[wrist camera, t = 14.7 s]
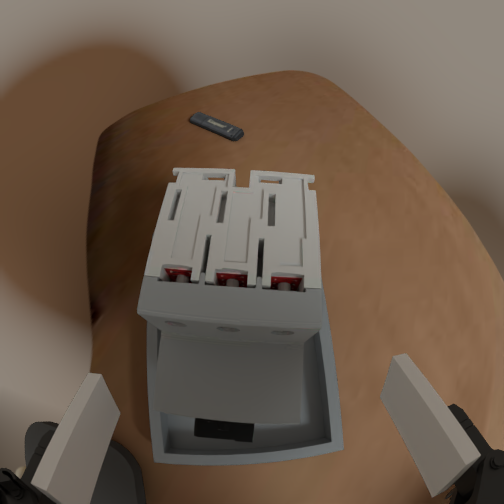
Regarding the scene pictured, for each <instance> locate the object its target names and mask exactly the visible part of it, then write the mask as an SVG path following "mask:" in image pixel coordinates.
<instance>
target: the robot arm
mask: <svg viewBox="0 0 504 504" xmlns="http://www.w3.org/2000/svg"><path fill="white" fill-rule="evenodd" d="M380 398H381V400H382V402H383V404H384V405H385V407H386V409H387V411H388V413H389V414H390V416H391V418H392V420H393V422H394V424H395V426H396V427H397V429H398V431H399V433H400V435H401V437H402V439H403V441H404V442H405V444H406V446H407V448H408V450H409V452H410V454H411V456H412V458H413V460H414V462H415V464H416V466H417V468H418V470H419V472H420V474H421V476H422V478H423V480H424V482H425V484H426V486H427V488H428V490H429V492H430V494H431V496H432V497H434V496H436V495H438V494H440V493H442V492H444V491H446V490H447V489H448V488H449V487H450V486H452V485H453V484H455V486H456V487H455V488H454V489H452V490H451V491H450V492H449V493H448V494H447V495H446V497H445V499H447V498H449V497H450V496H451V495H452V497H451V498H450V503H449V504H504V451H502V450H499V449H498V450H493V449H492V448H491V447H490V446H489V445H488V443H487V442H486V440H485V439H484V438H483V436H482V435H481V433H480V432H479V431H478V429H477V428H476V427H475V425H473V422H472V421H471V420H470V419H469V417H468V416H467V414H466V413H465V412H464V410H463V409H461V408H460V407H458V406H457V405H455V404H452V405H450V406H448V407H447V406H446V404H445V403H444V402H443V400H442V399H441V397H440V396H439V395H438V393H437V392H436V391H435V389H434V388H433V387H432V386H431V384H430V383H429V382H428V380H427V379H426V378H425V376H424V375H423V374H422V373H421V371H420V370H419V369H418V367H417V366H416V365H415V364H414V362H413V361H412V360H411V359H410V357H409V356H408V355H407V354H406V353H405V354H401V355H397V356H393V357H392V361H391V364H390V367H389V371H388V374H387V377H386V380H385V383H384V386H383V389H382V392H381V395H380ZM119 416H120V411H119V409H118V407H117V405H116V403H115V401H114V399H113V397H112V395H111V393H110V391H109V389H108V387H107V385H106V383H105V381H104V378H103V376H102V374H95V373H88V375H87V376H86V378H85V379H84V381H83V383H82V384H81V386H80V388H79V390H78V391H77V393H76V395H75V396H74V398H73V400H72V402H71V403H70V405H69V407H68V409H67V411H66V413H65V414H64V416H63V418H62V420H61V422H60V424H59V425H58V427H57V429H56V431H53V430H49V431H48V432H46V433H45V434H44V435H43V436H42V438H41V440H40V441H39V443H38V447H36V449H35V451H34V454H33V455H32V457H31V459H30V461H29V463H28V465H27V467H26V469H25V472H24V474H23V476H22V477H21V479H19V478H18V477H17V476H16V475H15V474H14V473H13V472H12V471H11V470H9V469H7V468H1V469H0V504H90V501H91V498H92V494H93V491H94V488H95V485H96V482H97V478H98V475H99V472H100V469H101V466H102V463H103V460H104V457H105V455H106V452H107V449H108V446H109V443H110V440H111V438H112V435H113V432H114V429H115V427H116V424H117V421H118V419H119Z"/></svg>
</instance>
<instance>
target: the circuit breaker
mask: <svg viewBox="0 0 504 504" xmlns="http://www.w3.org/2000/svg"><path fill="white" fill-rule="evenodd" d="M173 174H174V176H178V177H177V181H176V183H169V184H168V187H167V190H166V194H165V197H164V200H163V204H162V207H161V211H160V214H159V218H158V221H157V225H156V228H155V232H154V236H153V240H152V244H151V248H150V252H149V256H148V260H147V264H146V269H145V273H144V278H143V282H142V287H141V292H140V297H139V302H138V307H137V314H139V315H140V316H141V317H143V318H144V319H146V320H147V321H148V322H150V323H151V324H152V325H154V326H155V327H157V328H158V329H159V330H161V339H160V346H159V354H158V362H157V371H156V380H155V391H154V402H153V410H156V411H161V412H164V413H167V414H172V415H178V416H184V417H190V418H195V423H194V436H196V437H202V438H214V439H226V440H235V441H237V442H253V435H254V425H255V424H300V415H301V399H302V379H303V352H304V342H305V341H307V340H308V339H309V338H310V337H312V336H313V335H314V334H315V333H317V332H318V331H319V330H320V329H321V328H322V292H321V262H320V242H319V226H318V212H317V200H316V191H313V190H308V183H313V182H314V179H315V178H314V175H306V174H295V173H284V172H271V171H256V170H251V174H250V184H249V188H241V187H236V178H235V169H212V168H174V169H173ZM208 177H218V178H224V180H225V181H219V180H208ZM261 180H272V181H279V184H272V183H260V182H261Z"/></svg>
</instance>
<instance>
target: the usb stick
mask: <svg viewBox="0 0 504 504" xmlns="http://www.w3.org/2000/svg"><path fill="white" fill-rule="evenodd" d="M190 122H191V123H192V124H195V125H197V126H200V127H202V128H204V129H206V130H209V131H211V132H213V133H216V134H218V135H220V136H223V137H225V138H227V139H229V140H232V141H238V140H239V139H240V138H241V137H243V135H244V132H243V130H242V129H240V128H238V127H236V126H233V125H231V124H229V123H226V122H224V121H221V120H218V119H216V118H213V117H211V116H208V115H205V114H203V113H201V112H197V113H195V114H194V115H193V116H192V117H191V118H190Z"/></svg>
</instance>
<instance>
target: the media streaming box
mask: <svg viewBox="0 0 504 504" xmlns="http://www.w3.org/2000/svg"><path fill="white" fill-rule="evenodd" d="M58 425H59V424H57V423H53V422H35V423H33V424H32V425H31V426H30V427H29V428H28V430H27V432H26V435H25V460H26V467H27V465H28V463H29V461H30V459H31V457H32V455H33V454H34V451H35V449H36V447H38V443H39V441H40V440H41V438H42V436H43V435H44V434H45V433H46V432H48V431H49V430H53V431H56V429H57V427H58ZM90 504H146V499H145V492H144V485H143V479H142V472H141V469H140V466H139V464H138V463H137V461H136V459H135V458H134V457H133V455H132V454H131V453H130V452H129V451H128V450H127V449H126V448H125V447H123V446H122V445H120V444H119V443H117V442H115V441H113V440H110V443H109V446H108V449H107V452H106V455H105V457H104V460H103V463H102V466H101V469H100V472H99V475H98V478H97V482H96V485H95V488H94V491H93V494H92V498H91V501H90Z"/></svg>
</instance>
